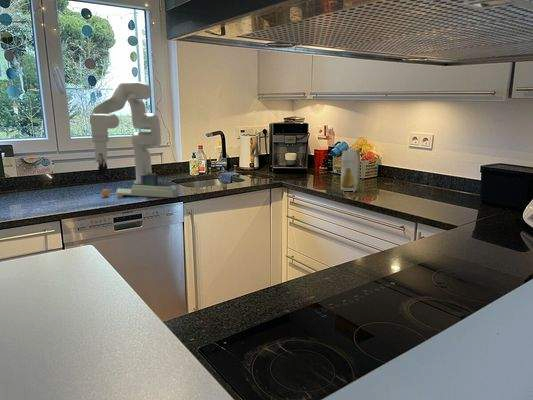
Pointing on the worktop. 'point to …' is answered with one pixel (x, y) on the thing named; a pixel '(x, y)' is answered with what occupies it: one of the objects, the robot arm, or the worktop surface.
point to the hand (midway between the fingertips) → (103, 173)
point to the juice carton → (350, 170)
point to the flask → (149, 179)
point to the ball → (105, 192)
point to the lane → (148, 191)
